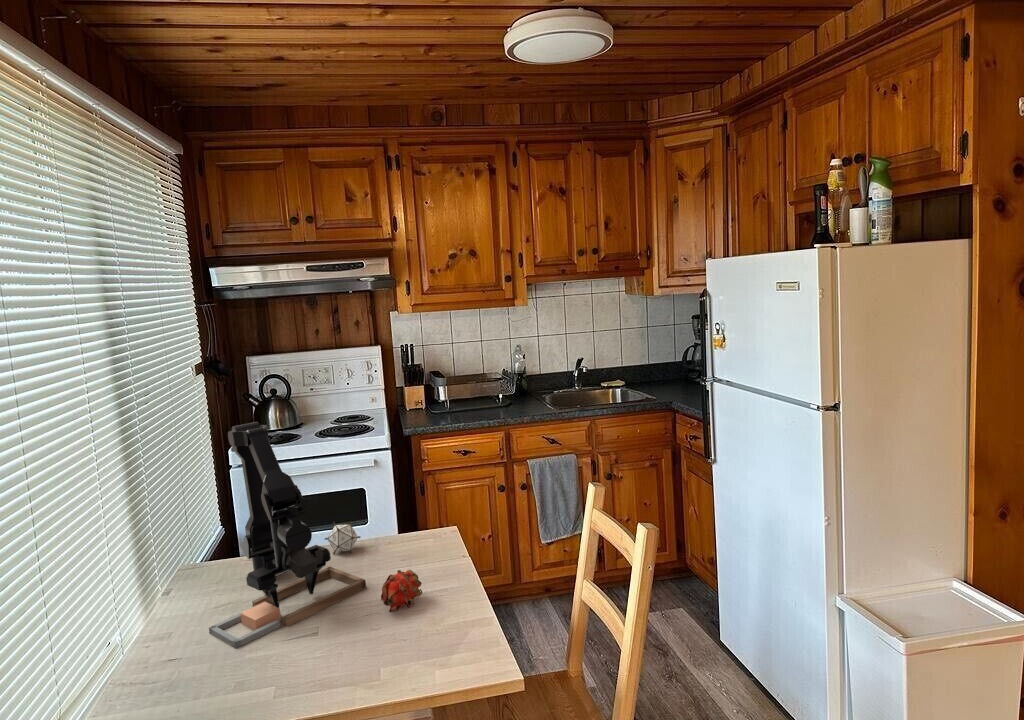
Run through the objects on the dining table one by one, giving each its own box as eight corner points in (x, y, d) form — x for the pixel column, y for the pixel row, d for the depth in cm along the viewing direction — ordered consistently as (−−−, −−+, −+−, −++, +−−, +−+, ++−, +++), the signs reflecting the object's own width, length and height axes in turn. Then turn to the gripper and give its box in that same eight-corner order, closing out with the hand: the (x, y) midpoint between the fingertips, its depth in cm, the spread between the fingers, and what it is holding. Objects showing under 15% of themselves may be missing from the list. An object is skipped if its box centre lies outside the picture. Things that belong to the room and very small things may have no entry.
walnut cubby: (253, 609, 165) (252, 601, 164) (330, 573, 181) (330, 566, 180) (287, 626, 155) (286, 618, 155) (366, 587, 171) (365, 579, 171)
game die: (352, 562, 196) (370, 529, 197) (341, 564, 188) (360, 530, 189) (325, 545, 198) (344, 513, 199) (313, 546, 190) (333, 513, 191)
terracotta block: (242, 625, 158) (240, 612, 158) (266, 614, 163) (264, 601, 162) (256, 633, 154) (254, 620, 154) (281, 621, 159) (279, 608, 158)
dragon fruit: (421, 599, 167) (394, 631, 156) (393, 577, 168) (363, 607, 158) (435, 575, 163) (407, 607, 152) (405, 553, 164) (376, 583, 154)
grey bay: (209, 632, 155) (208, 627, 155) (252, 612, 163) (251, 607, 163) (235, 648, 148) (235, 642, 148) (279, 626, 155) (279, 621, 155)
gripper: (268, 559, 150) (277, 629, 152) (341, 529, 164) (348, 593, 166) (240, 549, 157) (250, 615, 159) (312, 521, 171) (320, 582, 173)
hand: (294, 601), depth 164 cm, fingers open, 9 cm apart
